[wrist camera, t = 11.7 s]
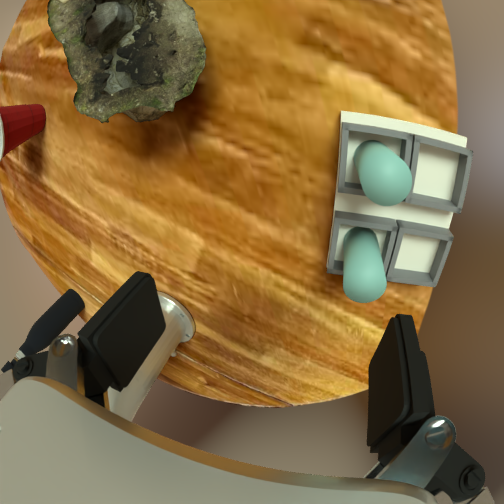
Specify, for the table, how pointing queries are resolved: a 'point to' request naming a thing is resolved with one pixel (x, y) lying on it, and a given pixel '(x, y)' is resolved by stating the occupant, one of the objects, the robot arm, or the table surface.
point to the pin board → (396, 207)
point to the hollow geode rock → (129, 54)
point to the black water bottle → (49, 326)
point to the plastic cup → (19, 125)
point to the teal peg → (382, 173)
